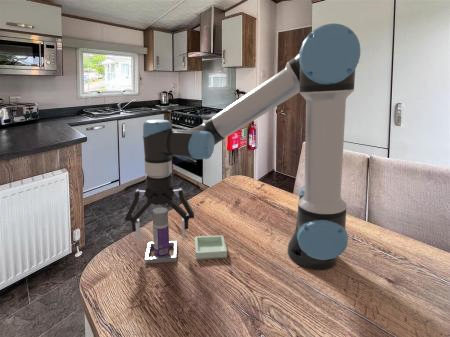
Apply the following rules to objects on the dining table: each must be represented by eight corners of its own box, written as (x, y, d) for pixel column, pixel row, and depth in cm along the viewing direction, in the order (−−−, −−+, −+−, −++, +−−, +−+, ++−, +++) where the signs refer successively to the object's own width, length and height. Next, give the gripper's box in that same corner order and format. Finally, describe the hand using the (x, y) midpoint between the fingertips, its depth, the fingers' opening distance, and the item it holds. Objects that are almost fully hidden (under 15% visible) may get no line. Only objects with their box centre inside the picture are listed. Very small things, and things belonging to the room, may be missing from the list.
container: (171, 250, 91) (170, 207, 87) (166, 258, 87) (165, 214, 82) (157, 248, 92) (155, 206, 87) (152, 257, 87) (149, 213, 83)
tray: (222, 241, 97) (222, 235, 96) (226, 258, 88) (227, 251, 87) (194, 243, 96) (194, 236, 95) (196, 260, 87) (196, 252, 86)
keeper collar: (176, 244, 94) (176, 240, 94) (176, 261, 86) (176, 257, 85) (148, 246, 93) (148, 242, 92) (145, 263, 84) (144, 259, 84)
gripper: (201, 169, 87) (200, 230, 93) (116, 170, 83) (121, 234, 89) (202, 177, 80) (202, 243, 86) (110, 179, 76) (116, 247, 82)
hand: (161, 239), depth 88 cm, fingers open, 13 cm apart
